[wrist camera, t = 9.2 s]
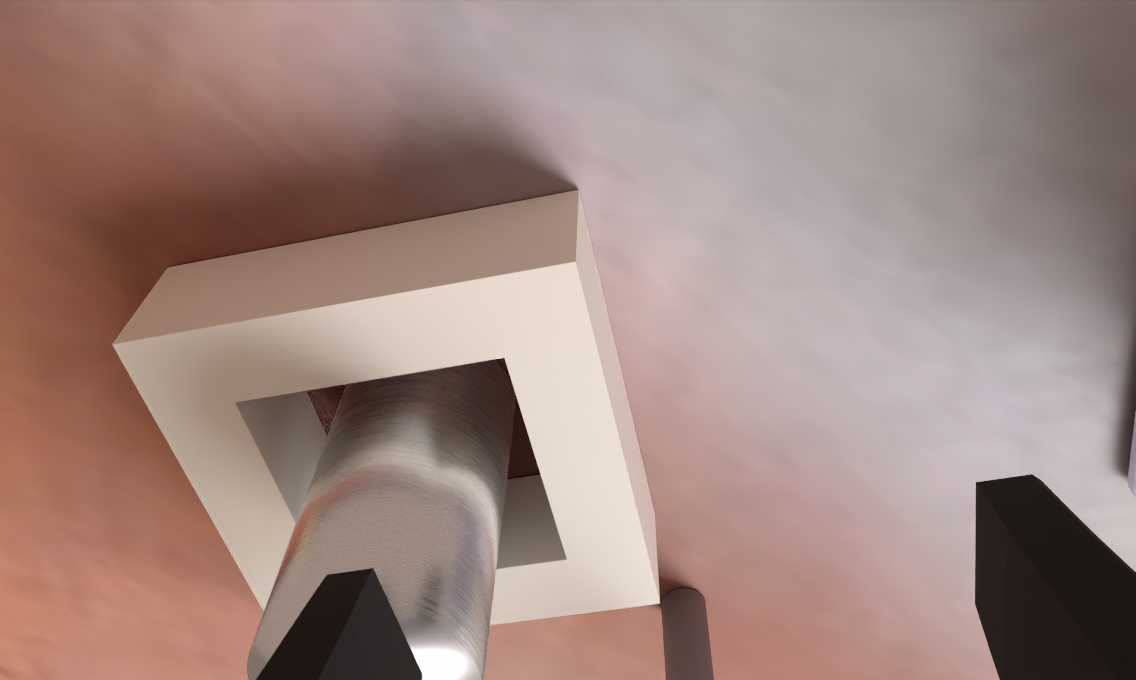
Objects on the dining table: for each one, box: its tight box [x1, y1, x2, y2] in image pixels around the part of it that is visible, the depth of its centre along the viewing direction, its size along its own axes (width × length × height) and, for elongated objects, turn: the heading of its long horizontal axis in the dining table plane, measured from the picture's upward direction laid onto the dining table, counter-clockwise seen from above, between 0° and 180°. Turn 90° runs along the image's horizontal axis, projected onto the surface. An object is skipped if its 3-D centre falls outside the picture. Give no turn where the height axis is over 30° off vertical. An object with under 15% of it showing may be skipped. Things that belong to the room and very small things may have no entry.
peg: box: [247, 359, 515, 680], centre depth 20 cm, size 4×4×8 cm
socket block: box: [112, 190, 660, 625], centre depth 22 cm, size 9×9×3 cm
